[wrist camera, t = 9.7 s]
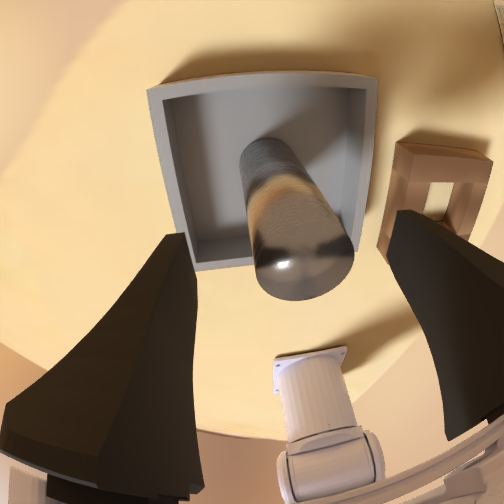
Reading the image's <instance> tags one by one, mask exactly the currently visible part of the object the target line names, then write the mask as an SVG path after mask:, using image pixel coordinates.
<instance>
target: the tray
mask: <svg viewBox="0 0 504 504" xmlns="http://www.w3.org/2000/svg"><path fill="white" fill-rule="evenodd" d="M146 91H147V97H148V103H149V109H150V115H151V120H152V126H153V131H154V136H155V141H156V146H157V151H158V156H159V160H160V165H161V169H162V174H163V178H164V183H165V187H166V191H167V196H168V200H169V204H170V208H171V212H172V216H173V220H174V224H175V228H176V231H177V233H182V232H185V235H186V239H187V243H188V247H189V251H190V255H191V259H192V263H193V267H194V270H195V272H196V271H204V270H213V269H222V268H230V267H239V266H247V265H254V259H253V253H252V246H251V240H250V234H249V227H248V221H247V214H246V208H245V202H244V195H243V189H242V183H241V176H240V170H239V160H240V156H241V154H242V152H243V150H244V149H245V148H246V147H247V146H248V145H249V144H250V143H251V142H253V141H255V140H257V139H260V138H266V137H271V138H277V139H280V140H282V141H284V142H285V143H286V144H288V145H289V146H290V148H291V149H292V150H293V152H294V153H295V155H296V156H297V157H298V159H299V160H300V162H301V163H302V164H303V166H304V167H305V169H306V170H307V172H308V173H309V175H310V176H311V178H312V179H313V181H314V182H315V184H316V185H317V187H318V188H319V190H320V191H321V193H322V194H323V196H324V197H325V199H326V200H327V202H328V204H329V205H330V207H331V208H332V210H333V211H334V213H335V215H336V216H337V218H338V220H339V221H340V223H341V224H342V226H343V228H344V229H345V231H346V233H347V234H348V236H349V238H350V239H351V241H352V244H353V246H354V252H358V247H359V242H360V237H361V231H362V226H363V220H364V214H365V209H366V202H367V196H368V189H369V182H370V175H371V167H372V158H373V149H374V139H375V128H376V114H377V97H378V78H374V77H370V76H365V75H361V74H356V73H345V72H331V71H304V70H283V71H256V72H242V73H231V74H221V75H213V76H205V77H198V78H192V79H186V80H180V81H174V82H169V83H164V84H159V85H157V86H154V87H152V88H150V89H147V90H146Z"/></svg>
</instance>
